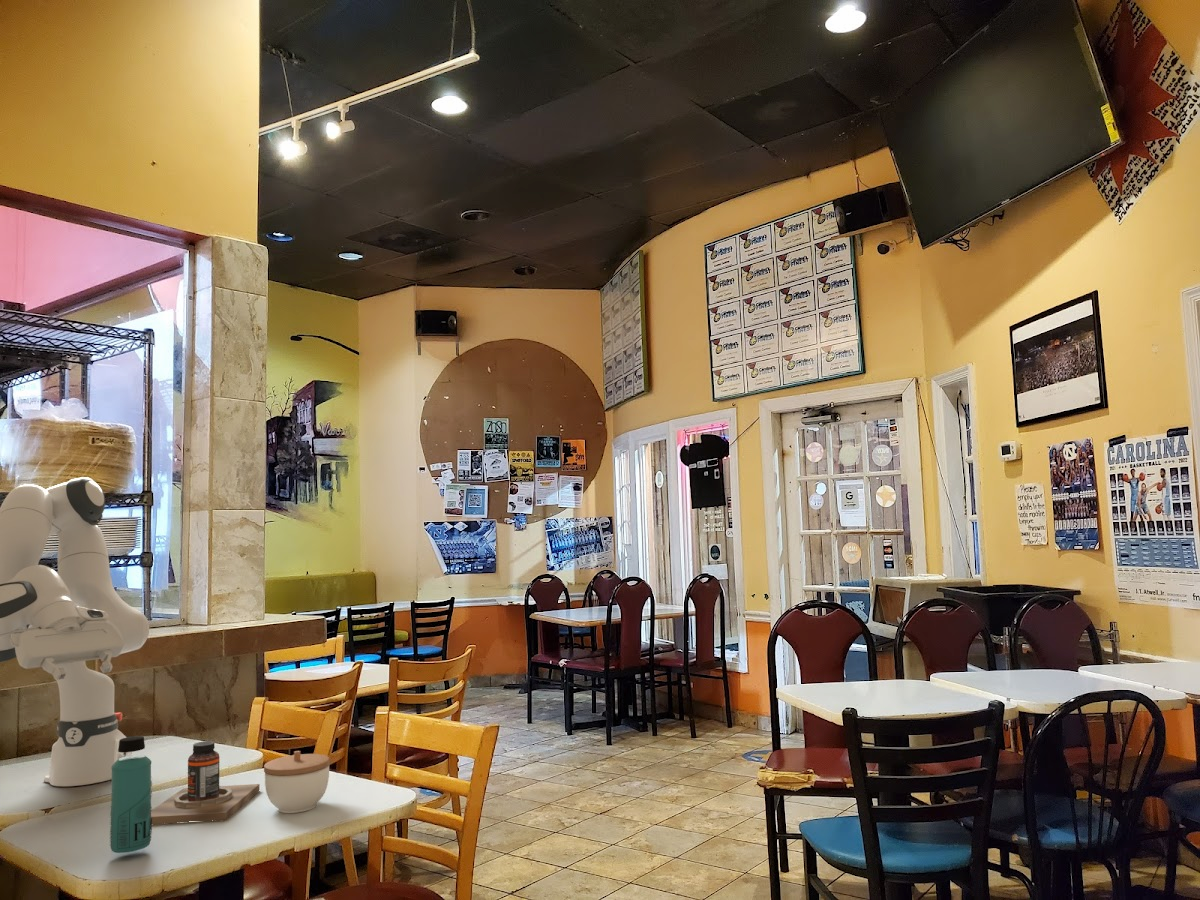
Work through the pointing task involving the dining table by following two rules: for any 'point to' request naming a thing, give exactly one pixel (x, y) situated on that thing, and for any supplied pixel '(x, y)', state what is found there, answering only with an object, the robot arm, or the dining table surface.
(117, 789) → the beverage bottle
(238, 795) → the walnut seat board
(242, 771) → the dining table surface
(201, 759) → the supplement bottle
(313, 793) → the lidded bowl
